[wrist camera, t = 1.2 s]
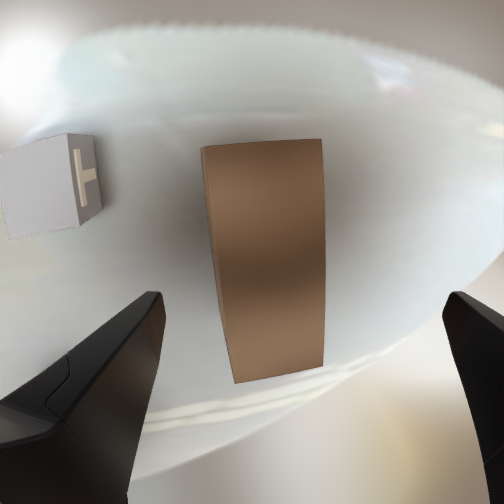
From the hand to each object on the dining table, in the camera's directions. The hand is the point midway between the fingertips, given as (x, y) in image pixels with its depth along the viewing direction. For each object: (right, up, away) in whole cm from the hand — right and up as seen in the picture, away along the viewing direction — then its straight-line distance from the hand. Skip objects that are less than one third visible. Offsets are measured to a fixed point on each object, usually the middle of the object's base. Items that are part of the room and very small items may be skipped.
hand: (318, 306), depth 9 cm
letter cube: (-15, +6, +10) cm, 19 cm away
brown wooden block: (-2, +3, +13) cm, 14 cm away
